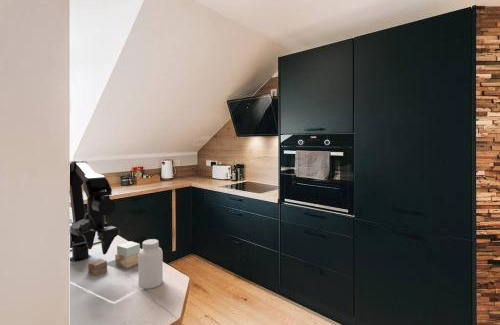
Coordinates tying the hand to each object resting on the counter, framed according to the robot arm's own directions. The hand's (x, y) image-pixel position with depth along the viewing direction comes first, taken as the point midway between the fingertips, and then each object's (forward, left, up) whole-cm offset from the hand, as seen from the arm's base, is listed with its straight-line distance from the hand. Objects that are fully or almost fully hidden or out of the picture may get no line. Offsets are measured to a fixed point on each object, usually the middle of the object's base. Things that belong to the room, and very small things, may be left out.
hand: (97, 251), depth 103 cm
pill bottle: (+23, +5, -9) cm, 25 cm away
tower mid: (+3, +11, -4) cm, 12 cm away
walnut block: (0, 0, -9) cm, 9 cm away
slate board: (+2, +10, -8) cm, 14 cm away
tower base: (+3, +11, -8) cm, 14 cm away
